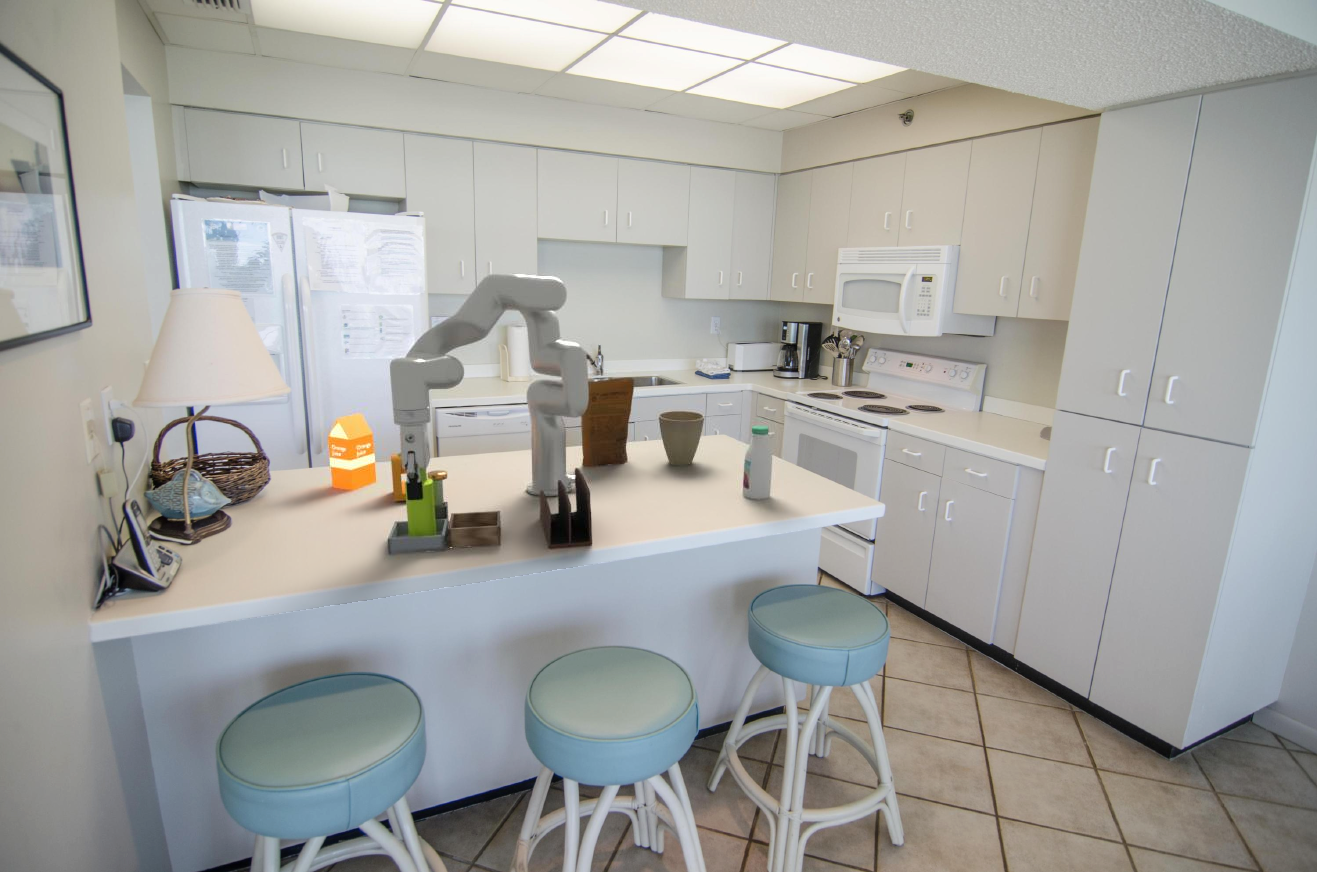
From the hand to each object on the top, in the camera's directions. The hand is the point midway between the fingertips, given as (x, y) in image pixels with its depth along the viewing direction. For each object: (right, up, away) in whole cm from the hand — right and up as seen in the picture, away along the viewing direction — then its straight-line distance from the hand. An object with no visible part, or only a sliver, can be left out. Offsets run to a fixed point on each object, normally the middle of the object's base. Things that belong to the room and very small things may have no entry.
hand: (417, 493), depth 149 cm
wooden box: (+11, -11, +6) cm, 17 cm away
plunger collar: (+1, -9, +12) cm, 15 cm away
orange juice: (-33, -1, +42) cm, 53 cm away
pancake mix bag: (+37, +4, +69) cm, 78 cm away
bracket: (-14, -4, +33) cm, 37 cm away
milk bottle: (+81, -4, +41) cm, 91 cm away
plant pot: (+61, +4, +72) cm, 94 cm away
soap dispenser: (0, -10, +3) cm, 10 cm away
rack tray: (0, -11, +3) cm, 12 cm away
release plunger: (+1, -8, +11) cm, 14 cm away
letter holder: (+31, -10, +12) cm, 35 cm away
